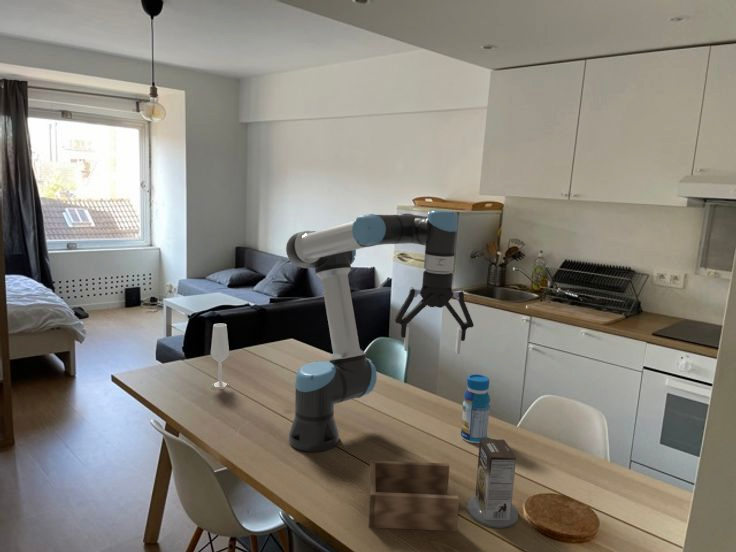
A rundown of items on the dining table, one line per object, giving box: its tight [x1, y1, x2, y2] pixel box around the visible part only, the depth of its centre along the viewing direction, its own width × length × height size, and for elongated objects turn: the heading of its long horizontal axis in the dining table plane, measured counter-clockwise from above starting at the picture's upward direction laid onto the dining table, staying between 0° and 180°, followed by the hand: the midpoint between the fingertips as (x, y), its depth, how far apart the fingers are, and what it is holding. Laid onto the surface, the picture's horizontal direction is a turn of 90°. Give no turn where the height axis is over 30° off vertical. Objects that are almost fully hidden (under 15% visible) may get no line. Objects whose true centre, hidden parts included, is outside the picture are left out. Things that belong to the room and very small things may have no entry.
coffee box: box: [474, 438, 517, 520], centre depth 126 cm, size 9×6×16 cm
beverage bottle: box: [460, 373, 491, 444], centre depth 164 cm, size 8×8×20 cm
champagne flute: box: [210, 323, 230, 387], centre depth 197 cm, size 7×7×24 cm
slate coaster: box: [466, 496, 519, 529], centre depth 127 cm, size 12×12×1 cm
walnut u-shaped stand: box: [368, 459, 460, 532], centre depth 126 cm, size 20×15×8 cm
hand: (431, 350), depth 137 cm, fingers open, 13 cm apart
